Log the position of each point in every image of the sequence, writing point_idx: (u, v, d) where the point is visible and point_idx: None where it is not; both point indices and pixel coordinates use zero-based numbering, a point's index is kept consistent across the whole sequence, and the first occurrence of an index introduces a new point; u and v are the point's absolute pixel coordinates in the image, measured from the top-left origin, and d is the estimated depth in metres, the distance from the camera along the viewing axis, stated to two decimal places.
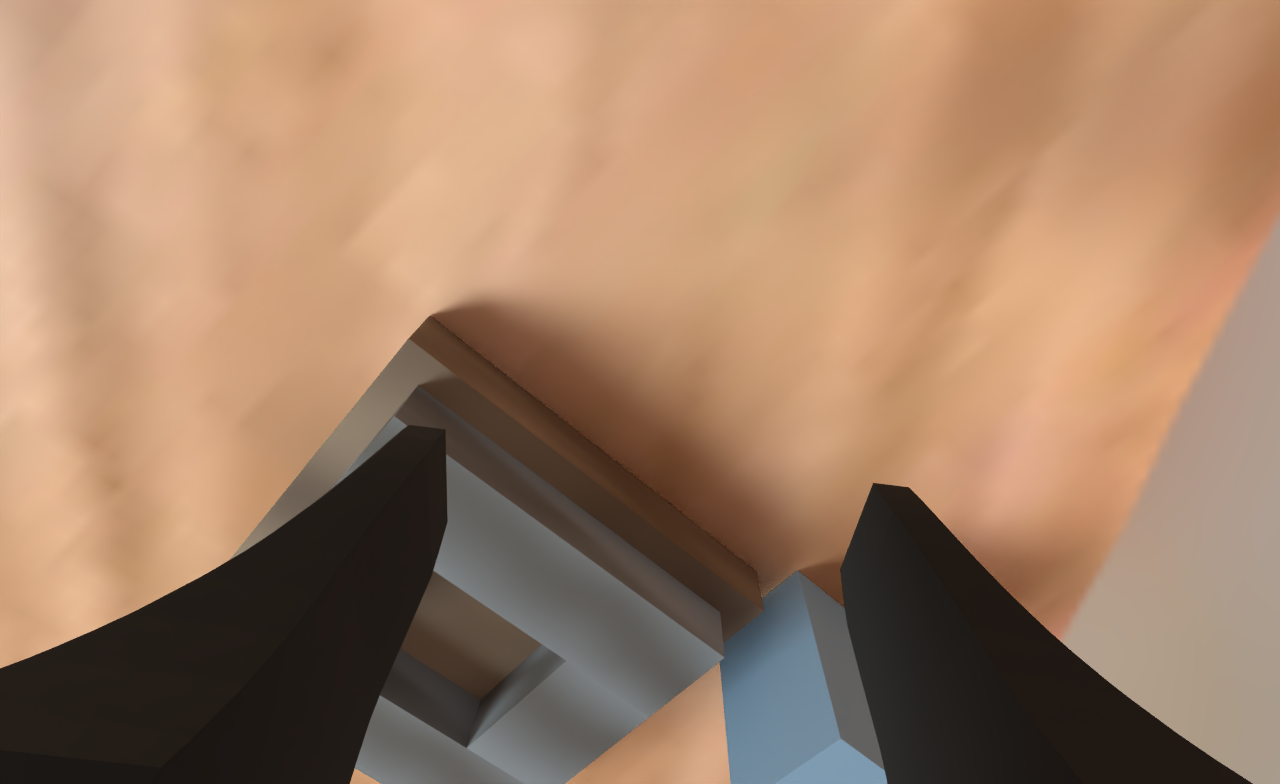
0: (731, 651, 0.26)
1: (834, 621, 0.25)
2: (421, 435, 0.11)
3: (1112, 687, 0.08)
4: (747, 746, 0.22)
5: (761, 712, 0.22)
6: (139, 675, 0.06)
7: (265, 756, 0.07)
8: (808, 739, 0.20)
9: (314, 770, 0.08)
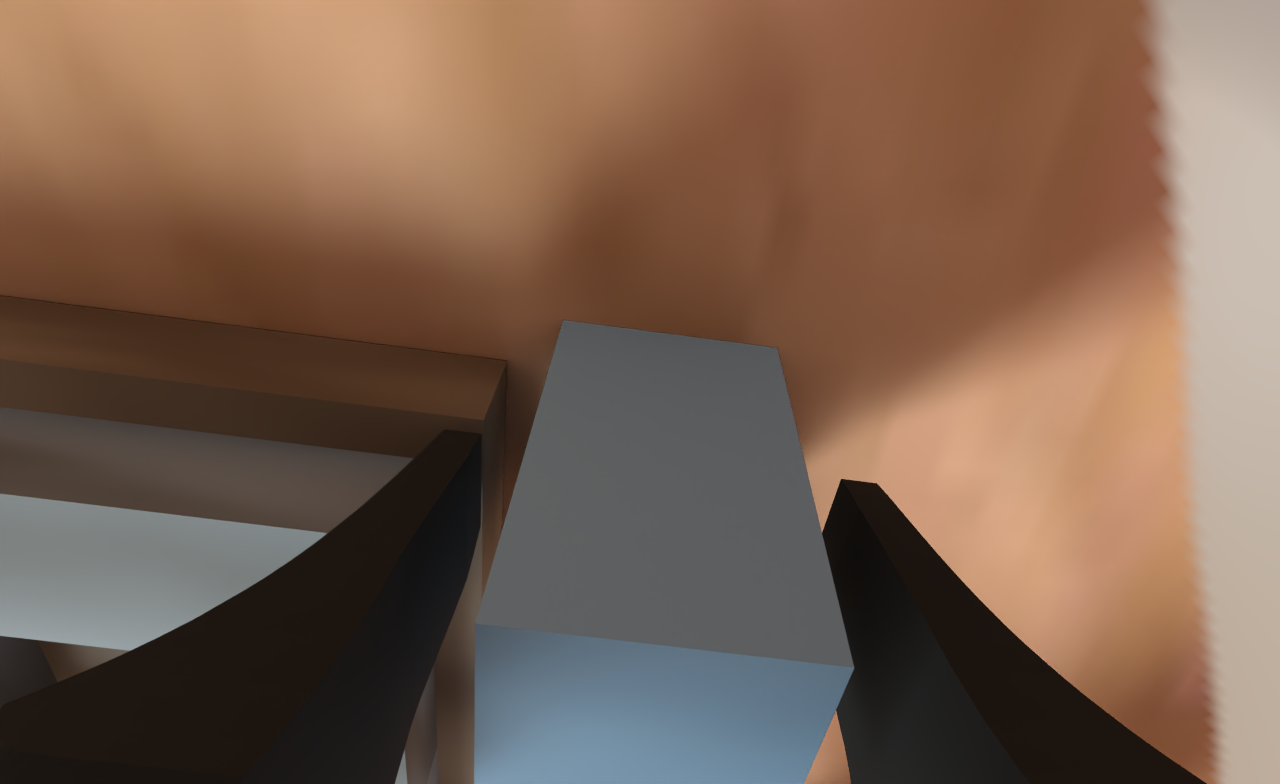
0: None
1: (639, 370, 0.12)
2: (457, 440, 0.11)
3: (1066, 682, 0.08)
4: None
5: None
6: (208, 682, 0.06)
7: (327, 763, 0.07)
8: None
9: (366, 776, 0.08)
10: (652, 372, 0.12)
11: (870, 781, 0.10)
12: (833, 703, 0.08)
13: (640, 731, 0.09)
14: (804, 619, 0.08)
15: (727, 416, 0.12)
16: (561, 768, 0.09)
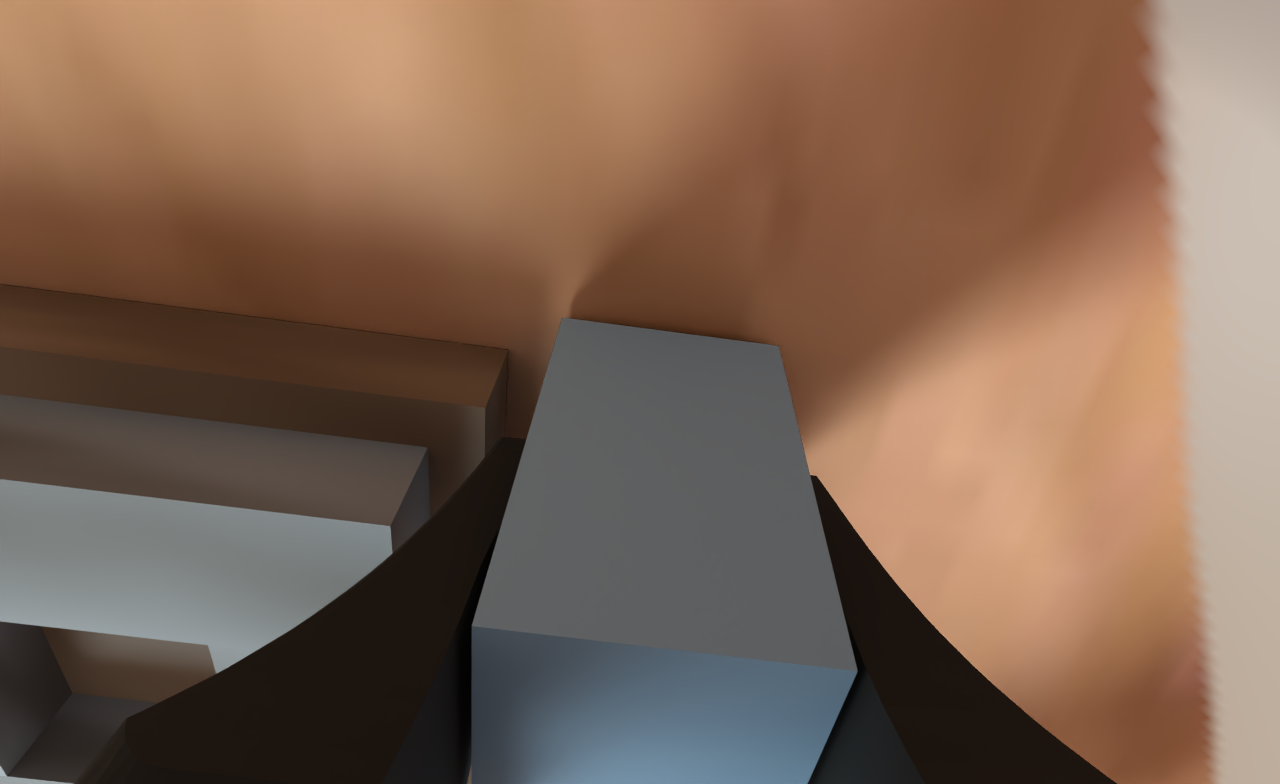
0: None
1: (638, 368, 0.12)
2: (518, 447, 0.11)
3: (977, 672, 0.08)
4: None
5: None
6: (318, 695, 0.06)
7: (426, 774, 0.07)
8: None
9: None
10: (652, 370, 0.12)
11: None
12: (836, 707, 0.08)
13: (640, 735, 0.08)
14: (806, 621, 0.08)
15: (728, 415, 0.11)
16: (559, 772, 0.09)
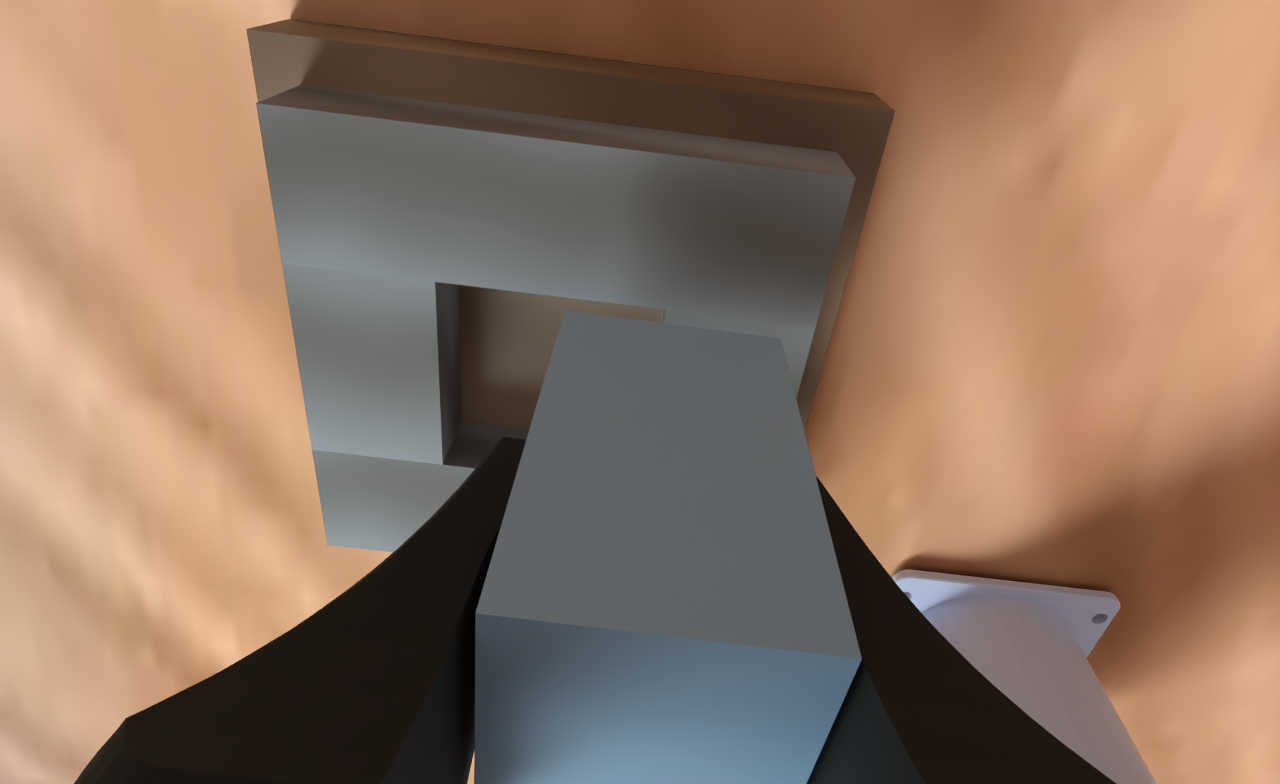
0: None
1: (641, 360, 0.12)
2: (518, 447, 0.11)
3: (978, 672, 0.08)
4: None
5: None
6: (317, 695, 0.06)
7: (426, 774, 0.07)
8: None
9: None
10: (655, 362, 0.12)
11: None
12: (840, 695, 0.08)
13: (643, 724, 0.08)
14: (810, 610, 0.08)
15: (731, 406, 0.11)
16: (563, 761, 0.09)
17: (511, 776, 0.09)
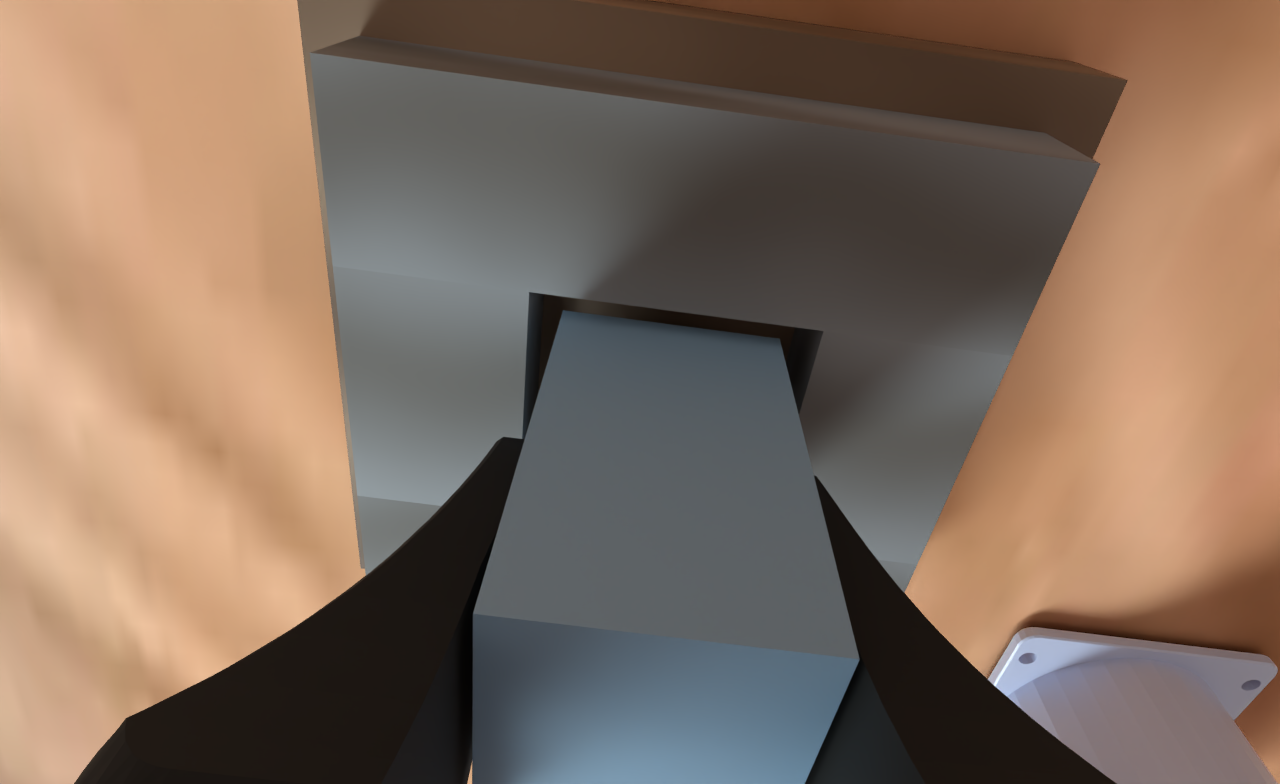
0: None
1: (639, 360, 0.12)
2: (518, 447, 0.11)
3: (978, 671, 0.08)
4: None
5: None
6: (318, 695, 0.06)
7: (426, 774, 0.07)
8: None
9: None
10: (653, 362, 0.12)
11: None
12: (838, 695, 0.08)
13: (640, 723, 0.08)
14: (808, 610, 0.08)
15: (730, 406, 0.11)
16: (561, 762, 0.09)
17: (509, 776, 0.09)
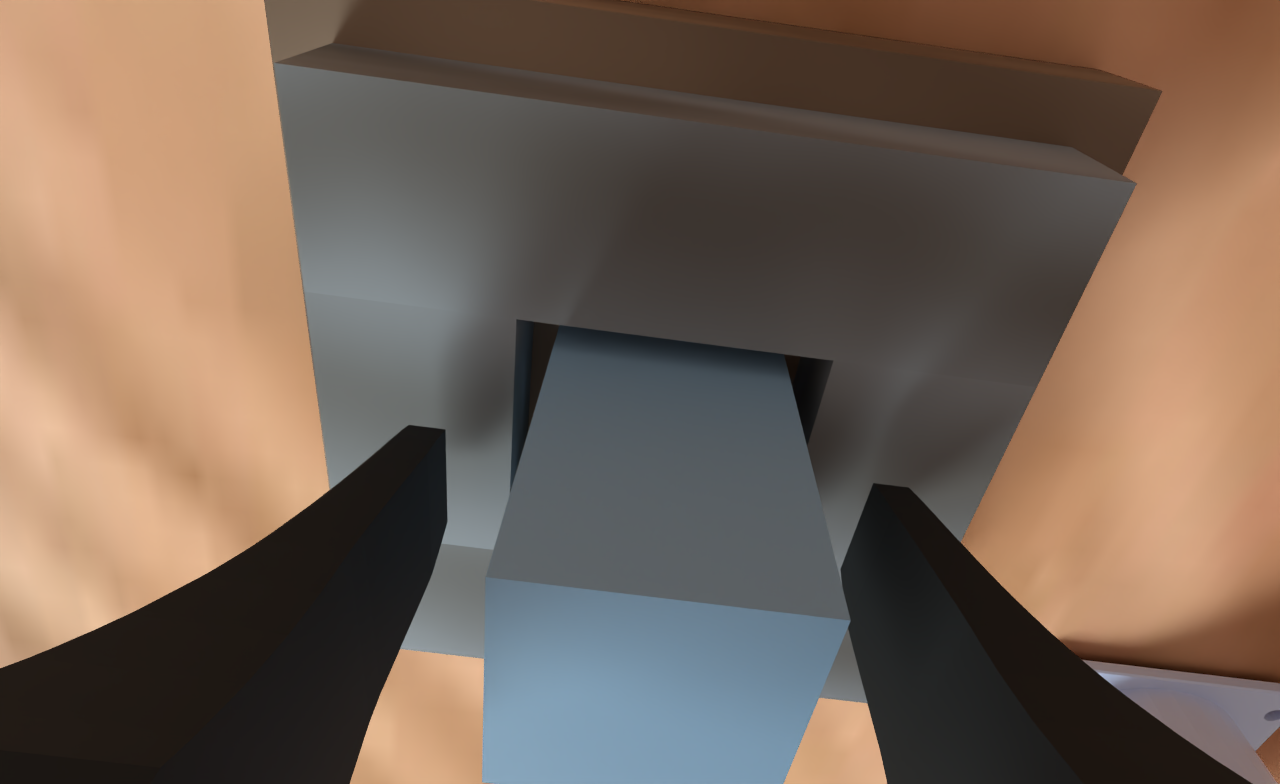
0: None
1: (641, 346, 0.13)
2: (420, 435, 0.11)
3: (1113, 688, 0.08)
4: None
5: None
6: (139, 675, 0.06)
7: (265, 756, 0.07)
8: None
9: (314, 770, 0.08)
10: (654, 348, 0.13)
11: None
12: (830, 657, 0.09)
13: (644, 686, 0.09)
14: (802, 576, 0.09)
15: (728, 389, 0.12)
16: (567, 723, 0.09)
17: (518, 738, 0.09)
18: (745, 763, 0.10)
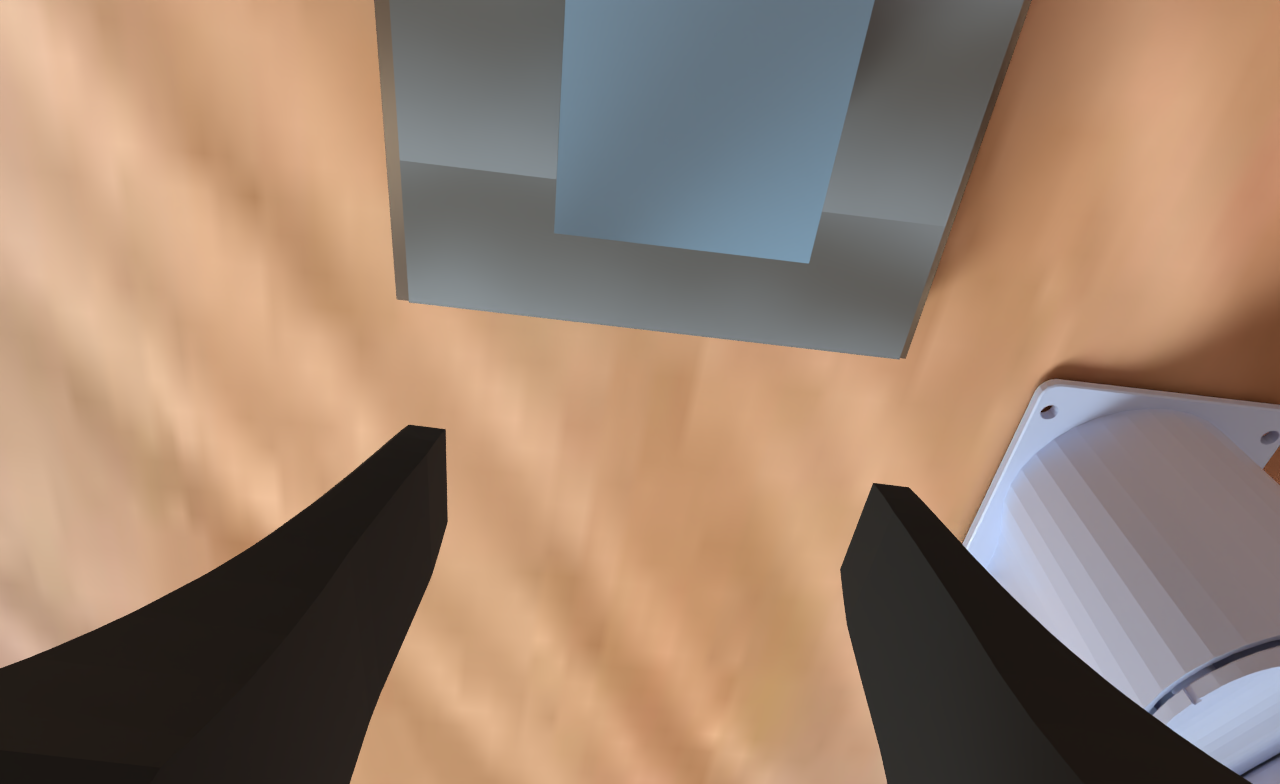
0: None
1: None
2: (420, 435, 0.11)
3: (1112, 687, 0.08)
4: None
5: None
6: (138, 675, 0.06)
7: (265, 756, 0.07)
8: None
9: (314, 770, 0.08)
10: None
11: None
12: (863, 35, 0.10)
13: (701, 78, 0.10)
14: None
15: None
16: (632, 141, 0.11)
17: (588, 163, 0.11)
18: (788, 187, 0.11)
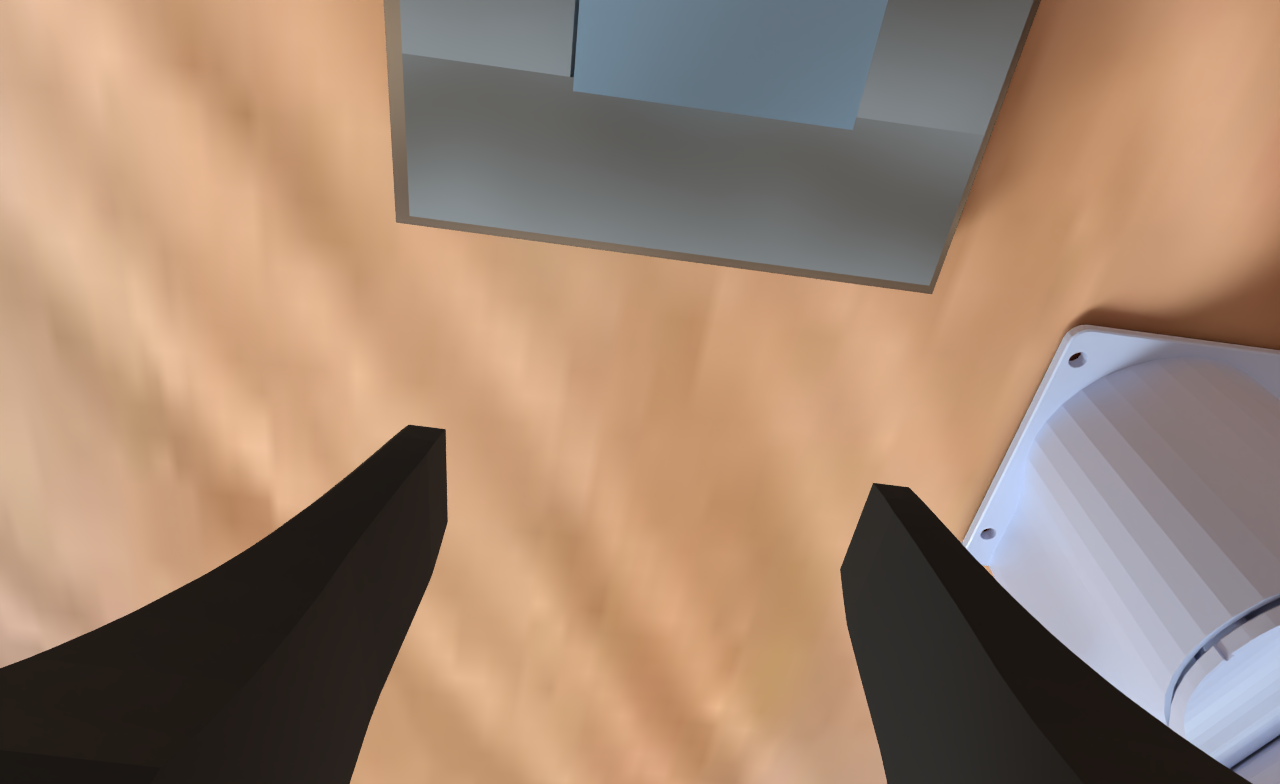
0: None
1: None
2: (420, 435, 0.11)
3: (1112, 687, 0.08)
4: None
5: None
6: (138, 674, 0.06)
7: (264, 756, 0.07)
8: None
9: (314, 770, 0.08)
10: None
11: None
12: None
13: None
14: None
15: None
16: None
17: (613, 5, 0.10)
18: (833, 37, 0.10)
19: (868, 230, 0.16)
